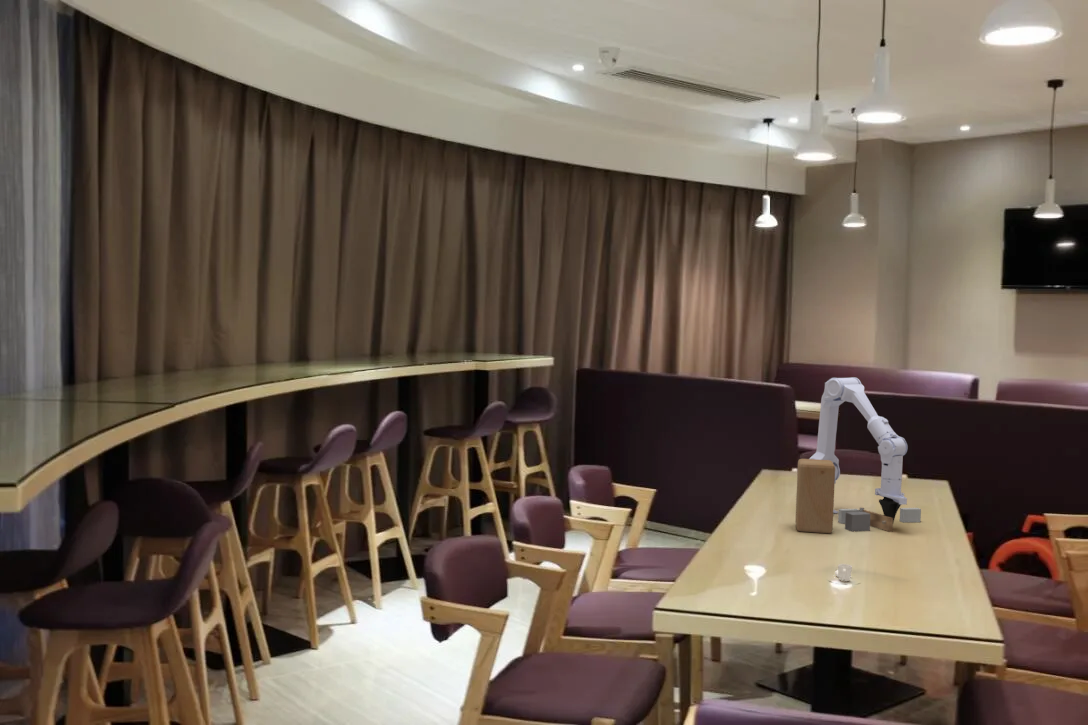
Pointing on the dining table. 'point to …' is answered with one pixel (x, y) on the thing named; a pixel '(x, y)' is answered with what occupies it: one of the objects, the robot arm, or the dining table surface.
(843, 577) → the teacup and saucer
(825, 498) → the wooden block
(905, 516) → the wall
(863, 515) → the grey rectangular block
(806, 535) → the dining table surface
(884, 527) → the door
